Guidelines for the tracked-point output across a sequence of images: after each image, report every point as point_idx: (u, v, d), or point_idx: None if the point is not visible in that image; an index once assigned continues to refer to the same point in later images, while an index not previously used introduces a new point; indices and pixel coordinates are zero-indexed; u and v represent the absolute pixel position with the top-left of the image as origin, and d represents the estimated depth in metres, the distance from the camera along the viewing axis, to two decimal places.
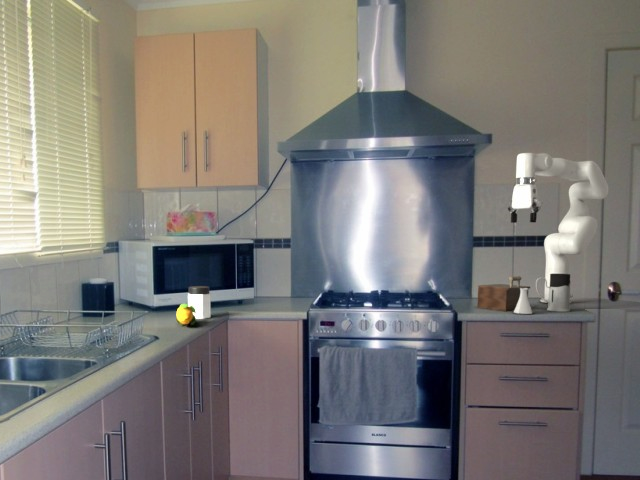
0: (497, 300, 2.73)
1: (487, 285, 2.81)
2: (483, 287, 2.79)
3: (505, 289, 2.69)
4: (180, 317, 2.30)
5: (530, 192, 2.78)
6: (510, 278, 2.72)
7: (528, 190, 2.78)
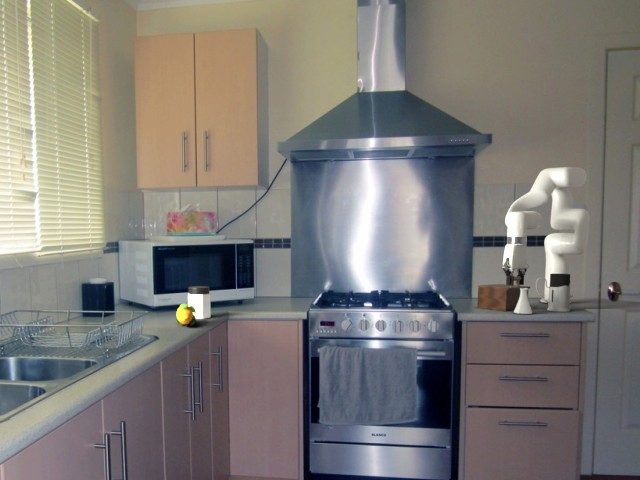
0: (497, 300, 2.73)
1: (487, 285, 2.81)
2: (483, 287, 2.79)
3: (505, 289, 2.69)
4: (180, 317, 2.30)
5: None
6: None
7: (526, 250, 2.72)
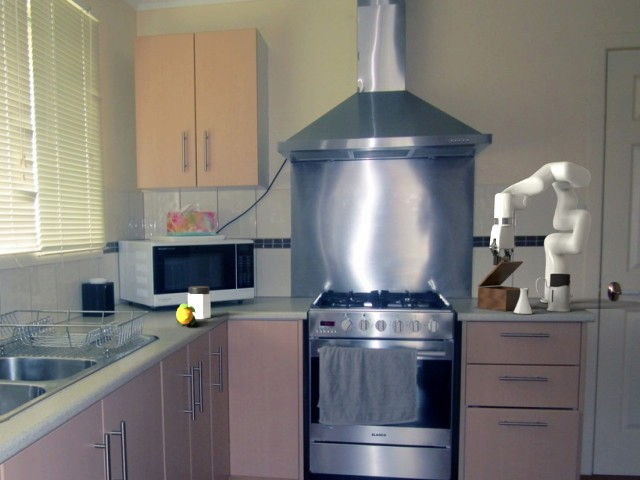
0: (497, 300, 2.73)
1: None
2: (482, 282, 2.80)
3: (499, 265, 2.72)
4: (180, 317, 2.30)
5: (513, 233, 2.78)
6: None
7: (513, 230, 2.77)
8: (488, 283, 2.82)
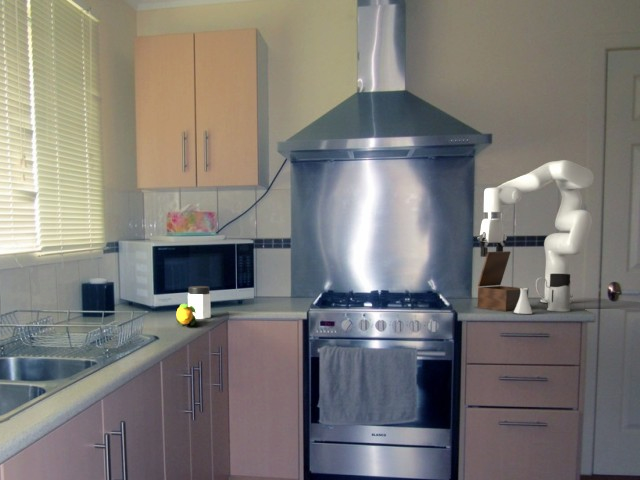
0: (497, 300, 2.73)
1: None
2: (480, 280, 2.80)
3: (487, 255, 2.76)
4: (180, 317, 2.30)
5: (502, 226, 2.84)
6: None
7: (502, 224, 2.83)
8: (486, 281, 2.82)
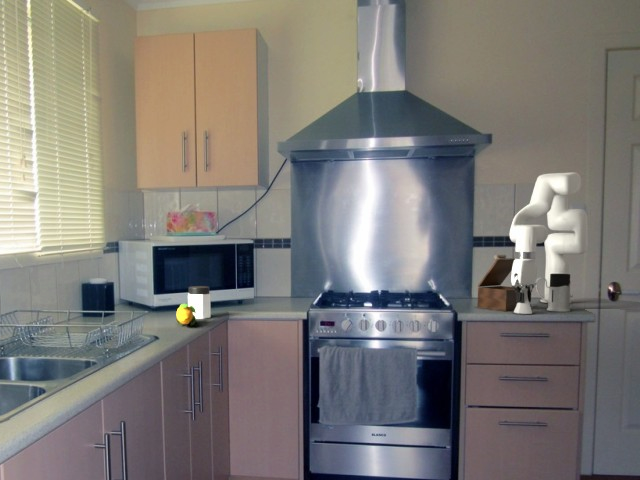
0: (497, 300, 2.73)
1: None
2: (482, 281, 2.80)
3: (496, 262, 2.73)
4: (180, 317, 2.30)
5: None
6: (495, 256, 2.78)
7: (535, 265, 2.61)
8: (487, 282, 2.82)
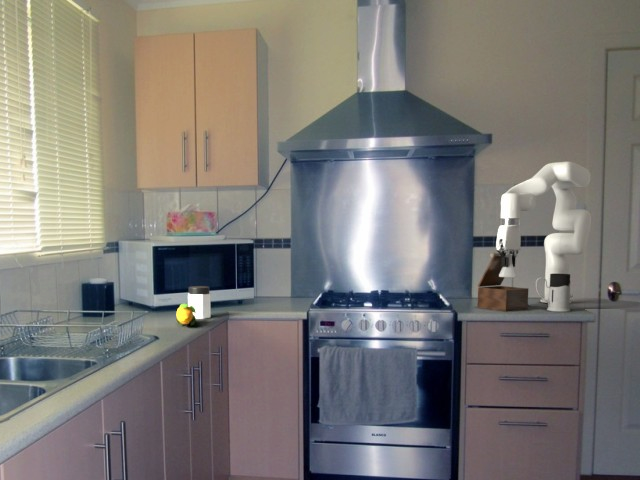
0: (497, 300, 2.73)
1: None
2: (481, 281, 2.80)
3: (493, 258, 2.74)
4: (180, 317, 2.30)
5: None
6: (491, 255, 2.80)
7: (519, 231, 2.74)
8: (487, 282, 2.82)
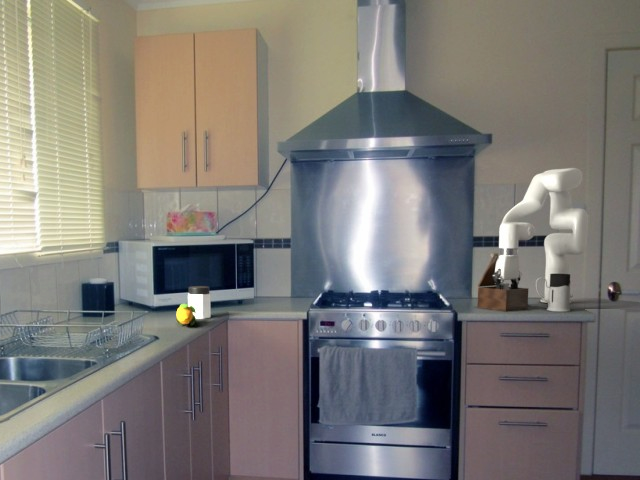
0: (497, 300, 2.73)
1: None
2: (481, 281, 2.80)
3: (493, 259, 2.74)
4: (180, 317, 2.30)
5: (518, 263, 2.76)
6: (491, 255, 2.79)
7: (518, 261, 2.75)
8: (487, 282, 2.82)
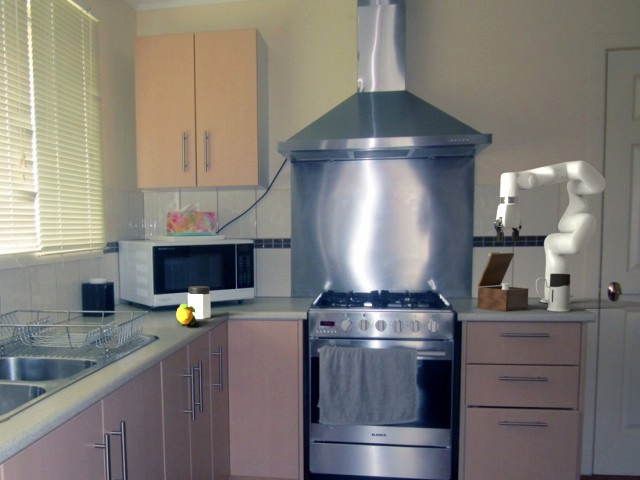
0: (497, 300, 2.73)
1: None
2: (481, 280, 2.80)
3: (490, 257, 2.75)
4: (180, 317, 2.30)
5: (519, 212, 2.84)
6: (489, 254, 2.81)
7: (518, 209, 2.83)
8: (487, 281, 2.82)
